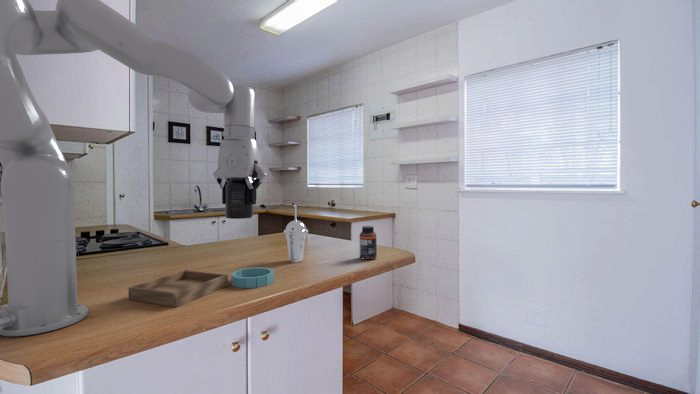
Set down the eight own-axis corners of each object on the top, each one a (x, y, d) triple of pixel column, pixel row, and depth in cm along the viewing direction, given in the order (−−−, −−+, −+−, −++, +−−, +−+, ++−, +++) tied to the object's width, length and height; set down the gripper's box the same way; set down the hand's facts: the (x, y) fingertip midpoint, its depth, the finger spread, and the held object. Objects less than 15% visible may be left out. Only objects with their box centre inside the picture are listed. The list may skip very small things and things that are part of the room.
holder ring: (257, 289, 81) (257, 279, 81) (223, 285, 85) (222, 275, 85) (280, 278, 91) (280, 269, 91) (248, 274, 95) (248, 266, 95)
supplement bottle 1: (258, 217, 87) (259, 172, 87) (239, 219, 81) (240, 170, 81) (238, 216, 90) (239, 172, 90) (219, 218, 84) (219, 171, 84)
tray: (176, 307, 70) (175, 294, 70) (128, 299, 74) (128, 287, 74) (228, 285, 85) (227, 274, 85) (185, 280, 89) (185, 270, 89)
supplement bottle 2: (368, 255, 120) (368, 225, 120) (380, 258, 115) (380, 226, 115) (356, 258, 116) (356, 226, 116) (367, 261, 112) (367, 228, 111)
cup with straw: (313, 259, 114) (313, 201, 113) (298, 265, 106) (298, 203, 105) (293, 257, 118) (293, 201, 117) (277, 262, 110) (276, 202, 109)
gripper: (202, 134, 84) (201, 203, 85) (259, 131, 79) (258, 205, 79) (222, 138, 92) (222, 202, 92) (276, 136, 86) (275, 204, 86)
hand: (239, 203), depth 85 cm, fingers closed on supplement bottle 1, 6 cm apart
